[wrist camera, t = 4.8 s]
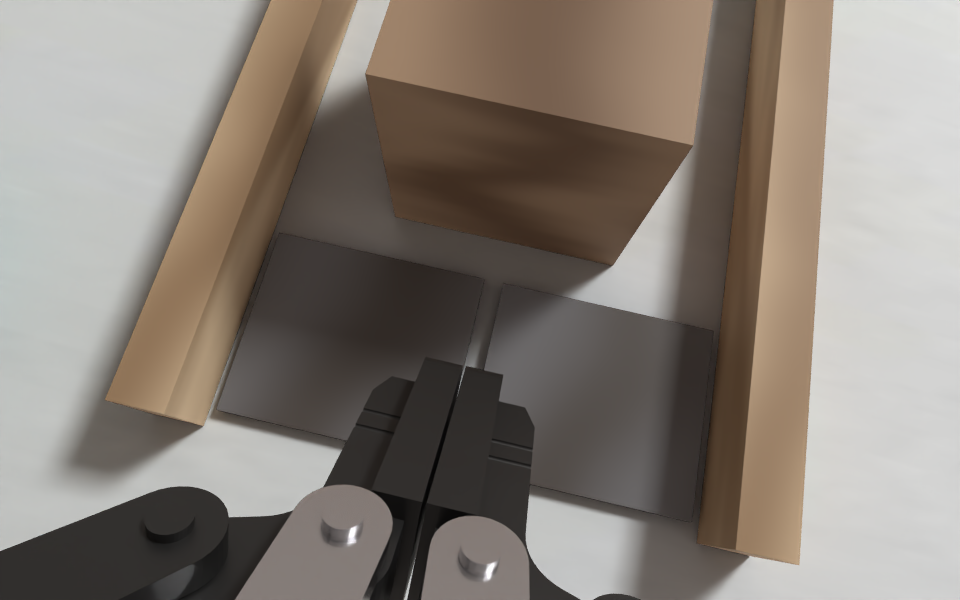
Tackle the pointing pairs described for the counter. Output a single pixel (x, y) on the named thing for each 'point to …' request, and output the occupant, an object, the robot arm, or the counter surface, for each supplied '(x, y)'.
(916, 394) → the counter surface
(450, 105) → the walnut block
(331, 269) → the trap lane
